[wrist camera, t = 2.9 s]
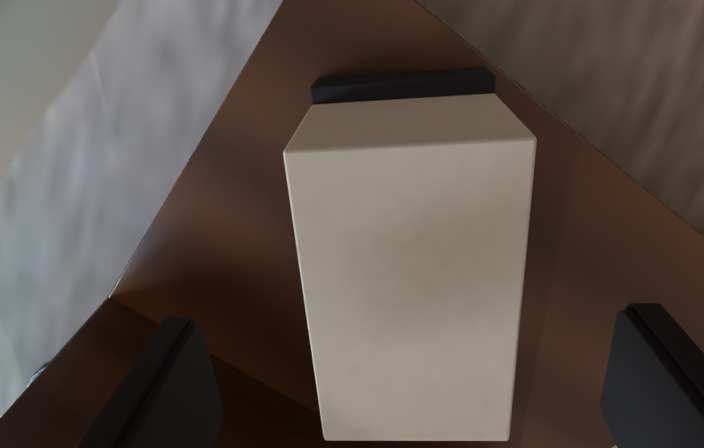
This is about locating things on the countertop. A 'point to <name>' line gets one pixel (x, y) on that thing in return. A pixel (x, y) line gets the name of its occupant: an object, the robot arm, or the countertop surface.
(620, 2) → the countertop surface
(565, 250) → the shoe shelf
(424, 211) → the beige cuboid
